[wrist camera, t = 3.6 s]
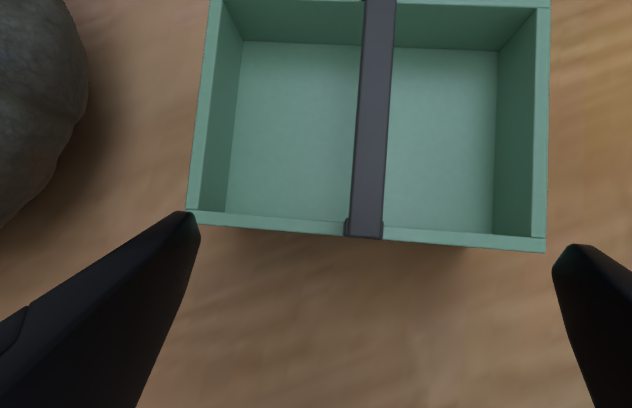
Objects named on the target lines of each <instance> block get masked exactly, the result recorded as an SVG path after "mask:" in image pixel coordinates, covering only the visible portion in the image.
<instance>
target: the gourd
mask: <svg viewBox="0 0 632 408" xmlns="http://www.w3.org/2000/svg"><path fill="white" fill-rule="evenodd" d="M87 101H88V63H87V58H86V54H85V50H84V47H83V45H82V43H81V41H80V38H79V36H78V33H77V30H76V27H75V23H74V21H73V19H72V17H71V14H70V13H69V11H68V9H67V7H66V5H65V3H64V1H63V0H0V229H1V228H2V227H3V226H4V225H5V224H6V223H7V222H9V221H10V220H11V219H12V218H13V217H14V216H15V215H16V214H17V213H18V212H19V211H20V210H21V209H22V207H23V206H24V205H25V204H26V203H28V202H29V201H30V200H32V199H33V198H35V197H36V196H37V195H38V194H39V193H40V192H41V191H42V190H43V189H44V188H45V187H46V185H47V184H48V183H49V181H50V180H51V178H52V176H53V175H54V173H55V170H56V166H57V159H58V157H59V155H60V154H61V152H62V151H63V150H64V148H65V147H66V145H67V143H68V142H69V140H70V138H71V136H72V133H73V126H74V125H75V124H76V123H77V122H78V121H79V120H80V119H81V118H82V117H83V115H84V113H85V110H86V106H87Z"/></svg>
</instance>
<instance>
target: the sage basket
mask: <svg viewBox="0 0 632 408" xmlns="http://www.w3.org/2000/svg"><path fill="white" fill-rule="evenodd" d="M550 7H551V0H210V5H209V13H208V22H207V30H206V38H205V47H204V55H203V63H202V72H201V80H200V88H199V96H198V105H197V113H196V121H195V130H194V138H193V146H192V154H191V163H190V171H189V179H188V188H187V196H186V204H185V209H186V210H185V211H187V212H192V213H193V214H194V215H195V218H196V221H197V224H202V225H214V226H226V227H237V228H249V229H261V230H273V231H285V232H296V233H308V234H320V235H332V236H344V237H354V238H366V239H378V240H391V241H403V242H415V243H426V244H438V245H450V246H462V247H474V248H486V249H497V250H509V251H521V252H533V253H545V252H546V240H545V239H544V238H546V219H547V171H548V123H549V75H550V28H551V9H550Z"/></svg>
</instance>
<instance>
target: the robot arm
mask: <svg viewBox="0 0 632 408" xmlns="http://www.w3.org/2000/svg"><path fill="white" fill-rule="evenodd" d="M200 242H201V235H200V231H199V228H198V225H197V221H196V218H195V215H194V214H193V213H192V212H187V211H175V212H173V213H172V214H170V215H168V216H167V217H165V218H164V219H162V220H161V221H159V222H157V223H156V224H154V225H153V226H151V227H150V228H148V229H146V230H145V231H143V232H142V233H140V234H139V235H137V236H135V237H134V238H132V239H131V240H129V241H128V242H126V243H124V244H123V245H121V246H120V247H118V248H116V249H115V250H113V251H112V252H110V253H109V254H107V255H105V256H104V257H102V258H101V259H99V260H98V261H96V262H94V263H93V264H91V265H90V266H88V267H87V268H85V269H83V270H82V271H80V272H79V273H77V274H76V275H74V276H72V277H71V278H69V279H68V280H66V281H64V282H63V283H61V284H60V285H58V286H57V287H55V288H53V289H52V290H50V291H49V292H47V293H46V294H44V295H42V296H41V297H39V298H38V299H36V300H34V301H33V302H31V303H30V304H29V306H25V307H23V308H22V309H20V310H19V311H17V312H15V313H14V314H12V315H11V316H9V317H8V318H6V319H4V320H3V321H1V322H0V408H135V407H136V405H137V403H138V401H139V398H140V396H141V394H142V391H143V389H144V387H145V385H146V382H147V380H148V378H149V375H150V373H151V371H152V369H153V366H154V364H155V362H156V359H157V357H158V355H159V353H160V350H161V348H162V346H163V343H164V341H165V339H166V336H167V334H168V332H169V330H170V327H171V325H172V323H173V320H174V318H175V316H176V314H177V311H178V309H179V307H180V304H181V302H182V299H183V297H184V294H185V291H186V288H187V285H188V282H189V278H190V275H191V272H192V269H193V265H194V262H195V259H196V256H197V252H198V249H199V246H200ZM552 279H553V283H554V287H555V290H556V294H557V298H558V302H559V306H560V310H561V313H562V317H563V321H564V325H565V328H566V332H567V335H568V338H569V341H570V344H571V347H572V349H573V352H574V354H575V357H576V360H577V362H578V365H579V367H580V370H581V373H582V375H583V378H584V380H585V383H586V386H587V388H588V391H589V393H590V396H591V399H592V401H593V404H594V406H595V408H632V272H631V271H630V270H628V269H627V268H625V267H624V266H622V265H621V264H619V263H618V262H616V261H615V260H613V259H612V258H610V257H609V256H607V255H606V254H604V253H603V252H601V251H600V250H598V249H597V248H595V247H593V246H591V245H584V244H571V245H569V246H567V247H566V249H565V250H564V251H563V253H562V254H561V255H560V257H559V258H558V260H557V261H556V262H555V264H554V265H553V267H552Z"/></svg>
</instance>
